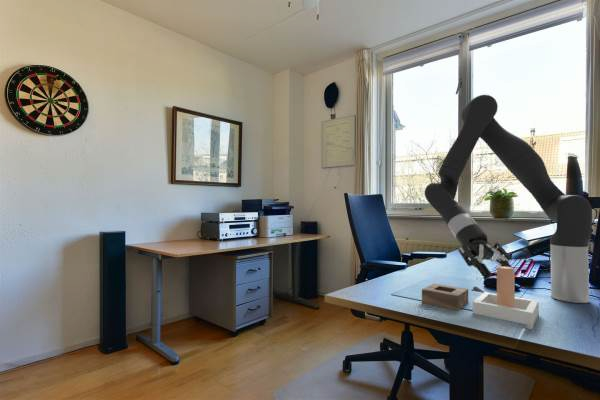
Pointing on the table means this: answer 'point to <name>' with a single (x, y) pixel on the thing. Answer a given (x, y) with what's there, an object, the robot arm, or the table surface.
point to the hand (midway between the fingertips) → (501, 276)
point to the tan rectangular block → (506, 286)
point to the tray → (508, 309)
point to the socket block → (445, 296)
